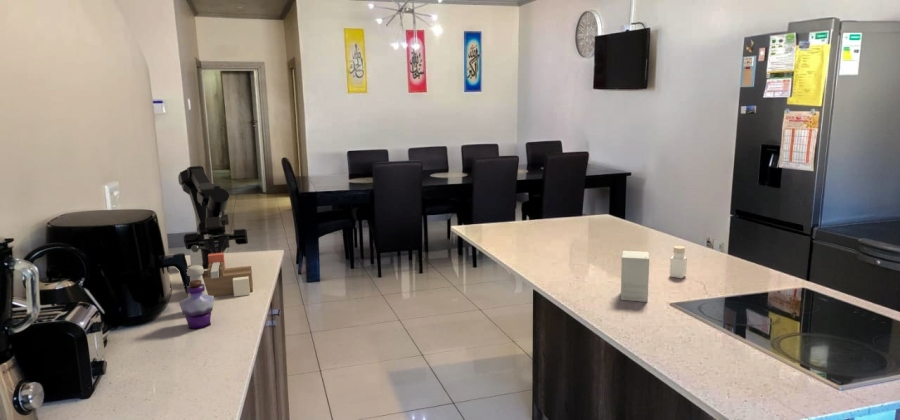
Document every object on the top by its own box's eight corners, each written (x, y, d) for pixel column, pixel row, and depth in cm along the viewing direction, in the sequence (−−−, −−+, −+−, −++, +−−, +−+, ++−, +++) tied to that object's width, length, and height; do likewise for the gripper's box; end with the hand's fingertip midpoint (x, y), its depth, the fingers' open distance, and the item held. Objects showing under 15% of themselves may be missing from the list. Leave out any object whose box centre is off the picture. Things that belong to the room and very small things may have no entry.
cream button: (234, 293, 174) (232, 278, 173) (249, 292, 175) (248, 276, 174) (234, 296, 172) (232, 280, 171) (249, 294, 173) (248, 278, 172)
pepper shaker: (686, 276, 182) (688, 246, 180) (681, 279, 179) (683, 249, 177) (673, 273, 185) (675, 244, 183) (668, 276, 182) (670, 247, 180)
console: (191, 291, 178) (188, 265, 176) (252, 284, 183) (250, 259, 182) (188, 299, 170) (185, 272, 169) (252, 291, 176) (250, 265, 174)
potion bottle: (191, 319, 155) (186, 276, 152) (223, 318, 154) (218, 275, 152) (175, 332, 146) (169, 286, 144) (208, 331, 146) (204, 286, 144)
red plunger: (210, 272, 181) (208, 254, 180) (225, 271, 182) (223, 252, 181) (207, 284, 169) (205, 265, 168) (223, 283, 170) (221, 263, 169)
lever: (192, 278, 171) (189, 245, 173) (203, 277, 172) (201, 244, 174) (191, 277, 169) (188, 244, 170) (202, 276, 170) (200, 243, 171)
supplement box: (647, 294, 167) (649, 251, 164) (647, 302, 160) (649, 258, 157) (621, 291, 169) (622, 249, 167) (619, 300, 162) (621, 256, 160)
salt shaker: (202, 315, 157) (197, 269, 154) (183, 314, 158) (178, 269, 156) (214, 308, 163) (210, 263, 160) (196, 307, 164) (191, 262, 161)
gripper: (180, 208, 180) (181, 252, 172) (244, 203, 186) (247, 245, 178) (186, 228, 189) (186, 269, 181) (246, 222, 195) (249, 263, 187)
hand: (217, 261), depth 181 cm, fingers closed, pressing on red plunger
